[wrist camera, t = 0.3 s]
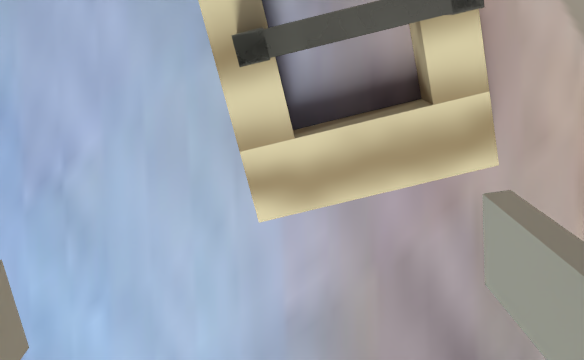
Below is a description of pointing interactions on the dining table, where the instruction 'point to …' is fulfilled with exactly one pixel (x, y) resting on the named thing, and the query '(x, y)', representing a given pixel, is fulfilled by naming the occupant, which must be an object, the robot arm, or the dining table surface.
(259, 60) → the gray u-shaped bracket
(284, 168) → the beige open frame
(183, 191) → the dining table surface
